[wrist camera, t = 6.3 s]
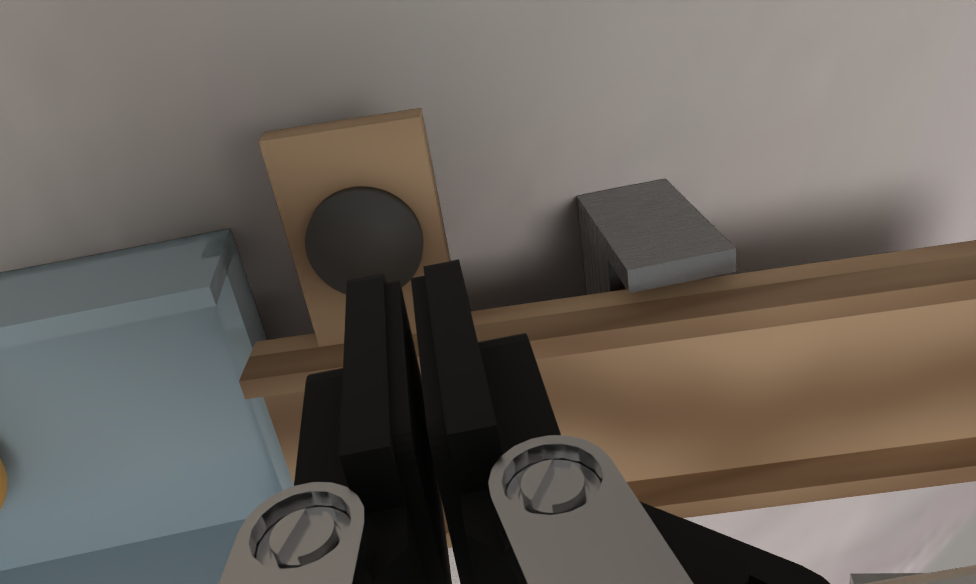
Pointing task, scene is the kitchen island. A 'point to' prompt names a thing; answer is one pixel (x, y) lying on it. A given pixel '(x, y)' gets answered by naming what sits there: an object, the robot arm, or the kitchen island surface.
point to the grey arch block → (648, 239)
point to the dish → (131, 416)
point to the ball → (2, 484)
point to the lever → (656, 343)
